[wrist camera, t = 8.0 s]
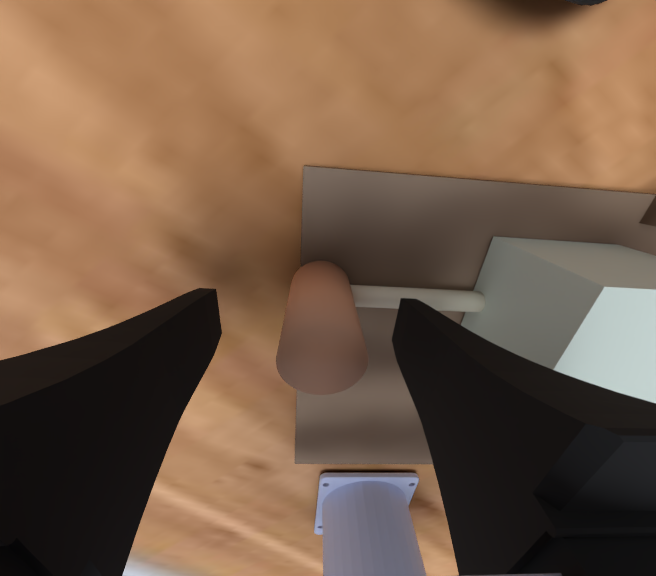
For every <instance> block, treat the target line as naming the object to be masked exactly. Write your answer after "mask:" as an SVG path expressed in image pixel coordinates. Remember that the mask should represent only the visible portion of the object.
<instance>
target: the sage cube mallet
mask: <svg viewBox="0 0 656 576" xmlns="http://www.w3.org/2000/svg"><path fill="white" fill-rule="evenodd" d="M401 298H411V299H418V300H420V301H422V302H424V303H425V304H427V305H429V306H430V307H432V308H434V309H435V310H438V311H461V312H465V315H464V318H463V320H462V323H461V326H463V327H465V328H466V329H468V330H470V331H472V332H473V333H475V334H477V335H479V336H481V337H482V338H484V339H486V340H488V341H490V342H492V343H494V344H496V345H498V346H500V347H502V348H504V349H506V350H508V351H510V352H512V353H514V354H517V355H519V356H521V357H523V358H526V359H528V360H530V361H533V362H535V363H538V364H540V365H543V366H545V367H547V368H550V369H552V370H555V371H557V372H560V373H563V374H566V375H568V376H571V377H574V378H577V379H579V380H582V381H585V382H588V383H591V384H594V385H597V386H600V387H603V388H606V389H609V390H612V391H615V392H618V393H622V394H625V395H629V396H632V397H636V398H639V399H642V400H646V401H649V402H653V403H656V256H655V255H651V254H648V253H645V252H641V251H638V250H634V249H631V248H628V247H624V246H621V245H616V244H601V243H586V242H571V241H555V240H540V239H525V238H510V237H495V236H493V239H492V241H491V244H490V247H489V250H488V252H487V255H486V258H485V261H484V263H483V266H482V269H481V271H480V274H479V277H478V280H477V282H476V285H475V288H474V290H473V291H464V290H445V289H425V288H405V287H386V286H366V285H350V283H349V279H348V277H347V275H346V273H345V272H344V271H343V269H341V268H340V267H339V266H338V265H336V264H334V263H331V262H328V261H313V262H310V263H307V264H305V265H303V266H302V267H301V268H299V269H298V270H297V272H296V273H295V274H294V276H293V279H292V282H291V287H290V292H289V297H288V302H287V307H286V312H285V317H284V321H283V326H282V331H281V336H280V341H279V346H278V351H277V356H276V364H277V369H278V372H279V374H280V375H281V377H282V378H283V379H284V381H285V382H286V383H288V384H289V385H290V386H291V387H293V388H295V389H297V390H299V391H301V392H304V393H308V394H313V395H329V394H334V393H338V392H341V391H344V390H346V389H348V388H350V387H351V386H353V385H354V384H356V383H357V382H358V381H359V380H360V379H361V377H362V376H363V375H364V373H365V371H366V369H367V366H368V352H367V348H366V344H365V340H364V337H363V333H362V329H361V325H360V321H359V317H358V313H357V310H356V307H372V308H394V309H399V304H400V300H401Z"/></svg>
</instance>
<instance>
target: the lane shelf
mask: <svg viewBox="0 0 656 576" xmlns="http://www.w3.org/2000/svg"><path fill="white" fill-rule="evenodd" d="M493 236H495V237H510V238H525V239H540V240H555V241H571V242H586V243H601V244H616V245H621V246H624V247H628V248H631V249H634V250H638V251H641V252H645V253H648V254H651V255H655V256H656V194H648V193H635V192H623V191H611V190H599V189H586V188H574V187H562V186H549V185H537V184H525V183H513V182H500V181H488V180H476V179H464V178H451V177H439V176H427V175H415V174H402V173H390V172H378V171H366V170H353V169H341V168H329V167H317V166H304V167H303V201H302V234H301V267H302V266H303V265H305V264H307V263H310V262H313V261H328V262H331V263H334V264H336V265H338V266H339V267H340V268H341V269H343V271H344V272H345V273H346V275H347V277H348V279H349V283H350V285H366V286H386V287H405V288H425V289H445V290H464V291H473V290H474V288H475V285H476V282H477V280H478V277H479V274H480V271H481V269H482V266H483V263H484V261H485V258H486V255H487V252H488V250H489V247H490V244H491V241H492V239H493ZM356 310H357V313H358V317H359V321H360V325H361V329H362V333H363V337H364V340H365V344H366V348H367V352H368V366H367V369H366V371H365V373H364V375H363V376H362V377H361V379H360V380H359V381H358V382H357V383H356V384H354V385H353V386H351V387H350V388H348V389H346V390H344V391H341V392H338V393H334V394H329V395H313V394H308V393H304V392H301V391H299V390H297V402H296V435H295V464H433V461H432V458H431V454H430V450H429V447H428V443H427V440H426V437H425V433H424V430H423V426H422V423H421V420H420V418H419V415H418V412H417V410H416V407H415V405H414V402H413V400H412V397H411V395H410V393H409V390H408V388H407V385H406V383H405V380H404V378H403V376H402V373H401V371H400V368H399V365H398V363H397V360H396V356H395V352H394V348H393V344H392V335H393V331H394V326H395V322H396V318H397V313H398V309H394V308H372V307H356ZM437 311H438V310H437ZM438 312H440V313H442V314H443V315H445V316H446V317H448V318H450V319H451V320H453V321H455V322H456V323H458V324H460V325H461V323H462V320H463V318H464V315H465V312H461V311H438Z"/></svg>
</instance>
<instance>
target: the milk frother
mask: <svg viewBox="0 0 656 576" xmlns="http://www.w3.org/2000/svg"><path fill="white" fill-rule="evenodd" d="M565 1H569V2H572V3H575V4H578V5H590V6H591V5H594V4H599V3H602V2H604V1H607V0H565Z"/></svg>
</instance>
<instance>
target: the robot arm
mask: <svg viewBox="0 0 656 576" xmlns="http://www.w3.org/2000/svg"><path fill="white" fill-rule="evenodd" d="M221 334H222V330H221V323H220V315H219V307H218V300H217V292H216V289H205V288H199V289H196V290H193V291H191V292H188V293H186V294H184V295H181V296H179V297H177V298H175V299H173V300H171V301H169V302H166V303H164V304H162V305H160V306H158V307H156V308H154V309H151V310H149V311H147V312H145V313H142V314H140V315H138V316H135V317H133V318H131V319H128V320H126V321H124V322H121V323H119V324H116V325H114V326H111V327H109V328H106V329H103V330H101V331H98V332H95V333H92V334H89V335H86V336H83V337H80V338H78V339H74V340H71V341H68V342H65V343H61V344H58V345H55V346H51V347H48V348H44V349H41V350H37V351H34V352H31V353H27V354H24V355H20V356H16V357H12V358H8V359H4V360H0V576H122V574H123V571H124V568H125V565H126V562H127V559H128V556H129V553H130V550H131V547H132V544H133V541H134V538H135V535H136V532H137V529H138V526H139V524H140V521H141V518H142V515H143V512H144V510H145V507H146V504H147V501H148V499H149V496H150V493H151V490H152V488H153V485H154V482H155V480H156V477H157V474H158V472H159V469H160V467H161V464H162V462H163V459H164V456H165V454H166V451H167V449H168V446H169V444H170V442H171V439H172V437H173V434H174V432H175V430H176V427H177V425H178V422H179V420H180V418H181V416H182V414H183V412H184V410H185V408H186V406H187V404H188V402H189V400H190V399H191V397H192V395H193V393H194V391H195V389H196V388H197V386H198V384H199V382H200V380H201V378H202V377H203V375H204V373H205V371H206V369H207V367H208V365H209V364H210V362H211V360H212V358H213V356H214V353H215V351H216V348H217V346H218V343H219V340H220V337H221ZM392 344H393V348H394V352H395V356H396V360H397V363H398V365H399V368H400V371H401V373H402V376H403V378H404V380H405V383H406V385H407V388H408V390H409V393H410V395H411V397H412V400H413V402H414V405H415V407H416V410H417V412H418V415H419V418H420V420H421V423H422V426H423V430H424V433H425V437H426V440H427V443H428V447H429V450H430V454H431V458H432V461H433V465H434V469H435V472H436V476H437V480H438V484H439V488H440V492H441V496H442V500H443V504H444V508H445V513H446V517H447V521H448V525H449V530H450V535H451V539H452V544H453V548H454V553H455V558H456V562H457V567H458V572H459V576H656V403H653V402H649V401H646V400H642V399H639V398H636V397H632V396H629V395H625V394H622V393H618V392H615V391H612V390H609V389H606V388H603V387H600V386H597V385H594V384H591V383H588V382H585V381H582V380H579V379H577V378H574V377H571V376H568V375H566V374H563V373H560V372H557V371H555V370H552V369H550V368H547V367H545V366H543V365H540V364H538V363H535V362H533V361H530V360H528V359H526V358H523V357H521V356H519V355H517V354H514V353H512V352H510V351H508V350H506V349H504V348H502V347H500V346H498V345H496V344H494V343H492V342H490V341H488V340H486V339H484V338H482V337H481V336H479V335H477V334H475V333H473V332H472V331H470V330H468V329H466V328H465V327H463V326H461V325H460V324H458V323H456V322H455V321H453V320H451V319H450V318H448V317H446V316H445V315H443V314H442V313H440V312H438V311H437V310H435V309H434V308H432V307H430V306H429V305H427V304H425V303H424V302H422V301H420V300H418V299H411V298H401V300H400V304H399V309H398V313H397V318H396V322H395V326H394V331H393V335H392ZM418 482H419V478H418V475H417V474H416V473H323V474H321V475H320V480H319V489H318V498H317V508H316V517H315V526H314V532H315V533H316V534H319V535H321V534H323V576H426V572H425V568H424V564H423V561H422V557H421V553H420V549H419V545H418V542H417V538H416V534H415V530H414V526H413V522H412V519H411V515H410V511H409V507H408V506H409V503H410V501H411V499H412V496H413V494H414V491H415V489H416V486H417V484H418Z"/></svg>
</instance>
